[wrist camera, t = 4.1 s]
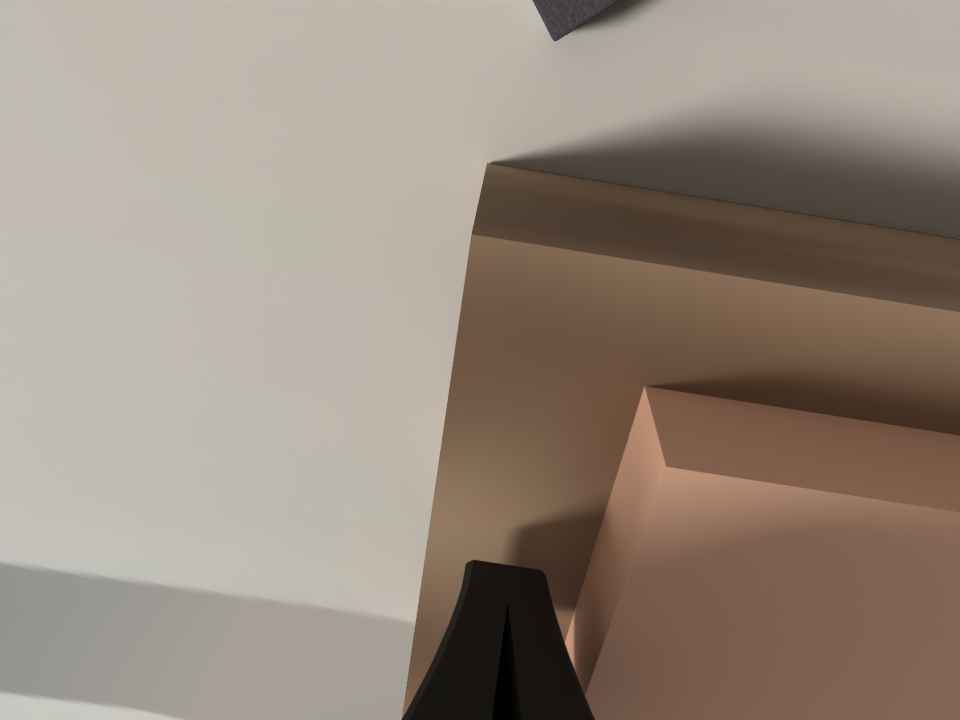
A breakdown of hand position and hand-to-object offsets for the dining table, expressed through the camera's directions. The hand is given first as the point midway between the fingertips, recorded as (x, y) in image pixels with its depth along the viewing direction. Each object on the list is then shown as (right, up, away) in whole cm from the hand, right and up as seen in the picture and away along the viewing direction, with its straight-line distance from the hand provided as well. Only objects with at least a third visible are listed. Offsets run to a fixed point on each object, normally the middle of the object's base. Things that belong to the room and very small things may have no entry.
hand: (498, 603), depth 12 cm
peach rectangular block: (+5, 0, +1) cm, 5 cm away
